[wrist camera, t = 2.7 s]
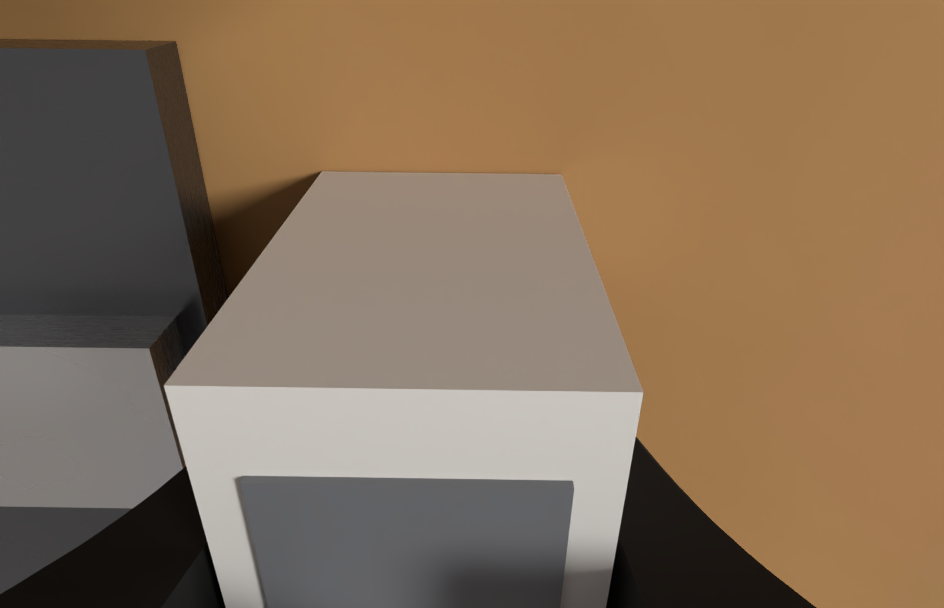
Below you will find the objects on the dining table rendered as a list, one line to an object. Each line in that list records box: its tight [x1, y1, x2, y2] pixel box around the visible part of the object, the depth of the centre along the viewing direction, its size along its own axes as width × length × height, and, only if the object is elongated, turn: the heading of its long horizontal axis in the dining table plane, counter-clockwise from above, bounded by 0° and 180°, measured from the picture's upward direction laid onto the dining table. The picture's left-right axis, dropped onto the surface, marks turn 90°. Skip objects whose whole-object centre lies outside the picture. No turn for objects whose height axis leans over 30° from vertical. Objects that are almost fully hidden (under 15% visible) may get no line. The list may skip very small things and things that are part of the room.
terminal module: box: [164, 171, 643, 608], centre depth 10 cm, size 8×4×6 cm, turn 179°
